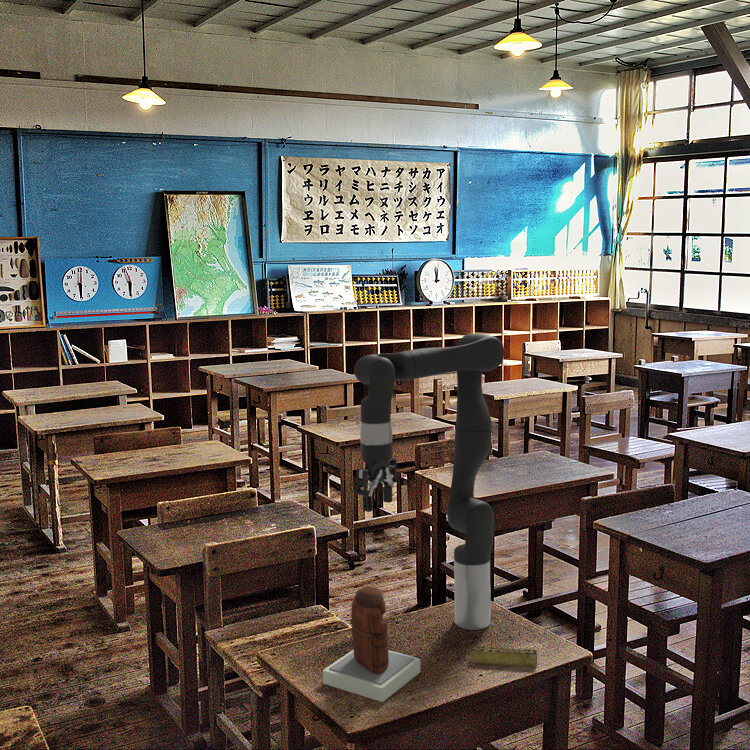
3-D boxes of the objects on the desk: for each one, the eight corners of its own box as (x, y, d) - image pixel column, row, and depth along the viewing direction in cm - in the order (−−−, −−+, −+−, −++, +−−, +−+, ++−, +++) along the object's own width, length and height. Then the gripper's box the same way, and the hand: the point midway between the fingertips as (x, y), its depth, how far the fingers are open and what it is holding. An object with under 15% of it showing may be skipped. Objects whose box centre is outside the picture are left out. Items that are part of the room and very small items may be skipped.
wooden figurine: (397, 669, 196) (395, 592, 194) (373, 677, 193) (371, 599, 190) (370, 649, 206) (368, 576, 204) (346, 656, 203) (344, 582, 200)
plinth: (363, 655, 211) (362, 642, 210) (420, 671, 202) (420, 657, 201) (323, 683, 197) (322, 668, 197) (382, 702, 189) (382, 686, 188)
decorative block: (537, 663, 205) (537, 649, 205) (536, 668, 203) (536, 653, 202) (471, 659, 208) (471, 645, 208) (470, 663, 206) (470, 649, 205)
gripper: (379, 433, 214) (381, 497, 217) (345, 444, 203) (347, 512, 205) (405, 435, 210) (407, 501, 212) (372, 447, 198) (374, 516, 201)
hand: (378, 506), depth 209 cm, fingers open, 8 cm apart
